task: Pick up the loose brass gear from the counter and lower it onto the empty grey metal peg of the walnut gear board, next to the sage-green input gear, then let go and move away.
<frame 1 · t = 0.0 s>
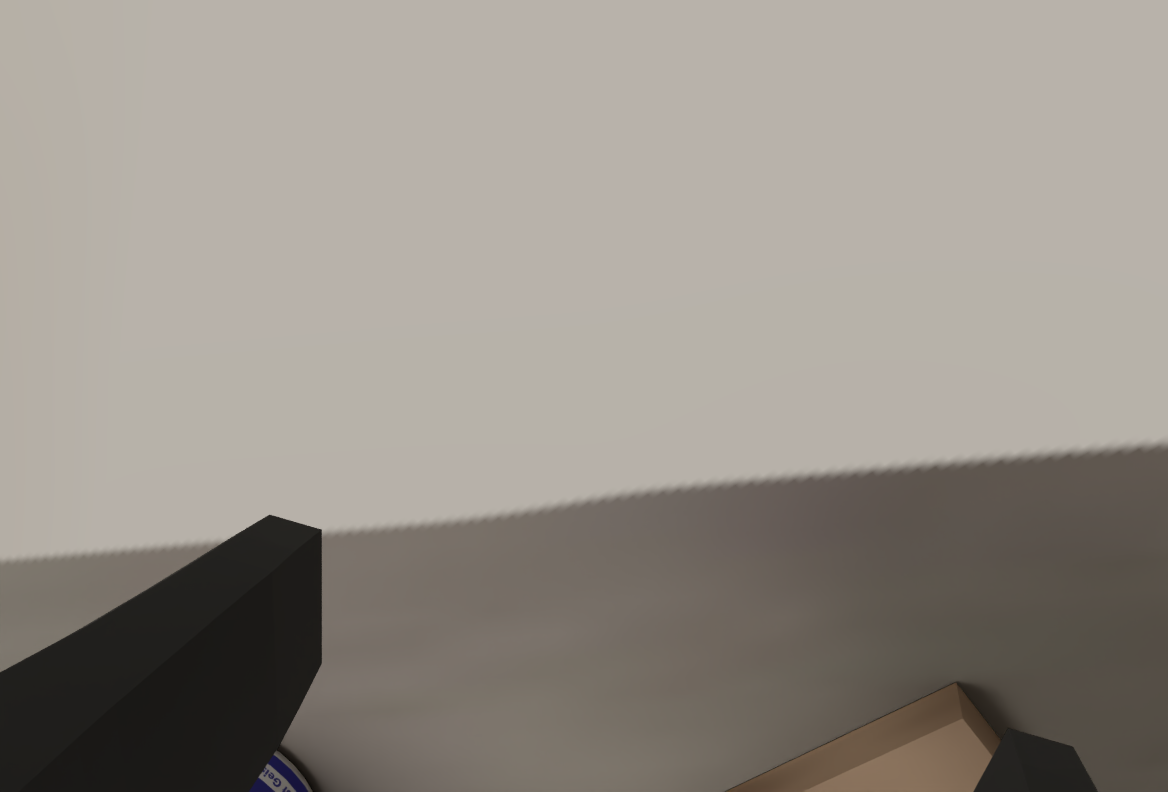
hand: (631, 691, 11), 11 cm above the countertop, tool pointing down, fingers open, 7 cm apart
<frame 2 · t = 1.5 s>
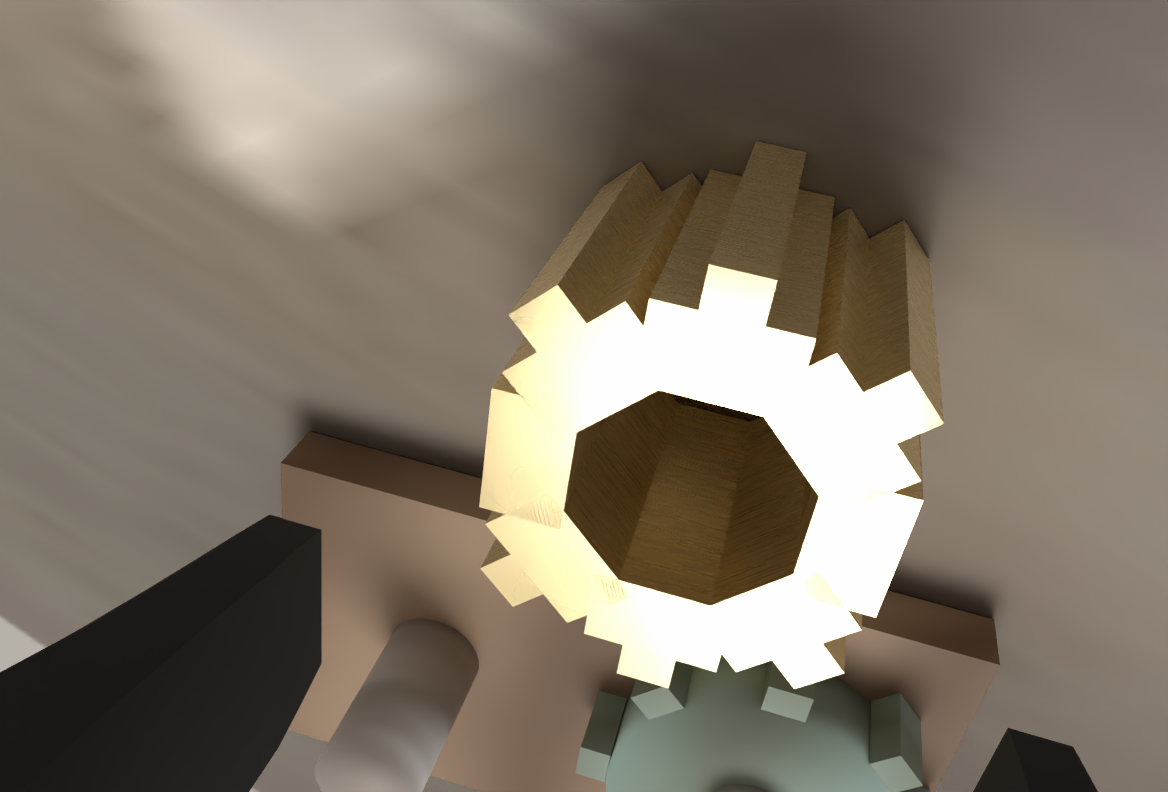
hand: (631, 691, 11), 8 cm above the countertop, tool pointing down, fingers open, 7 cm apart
brass gear: (733, 336, 18), on the countertop
gear board: (604, 661, 22), on the countertop
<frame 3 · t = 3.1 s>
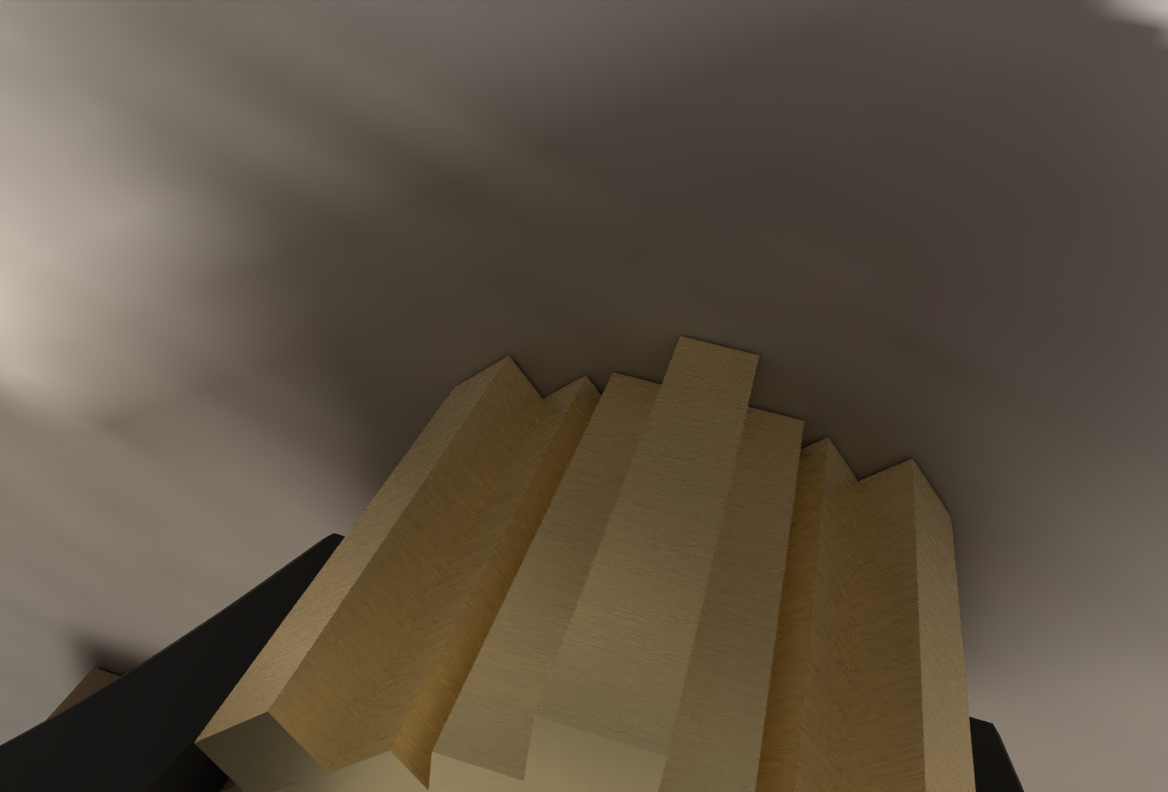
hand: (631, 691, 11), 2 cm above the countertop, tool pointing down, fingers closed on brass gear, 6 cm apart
brass gear: (658, 596, 12), on the countertop, touching gripper
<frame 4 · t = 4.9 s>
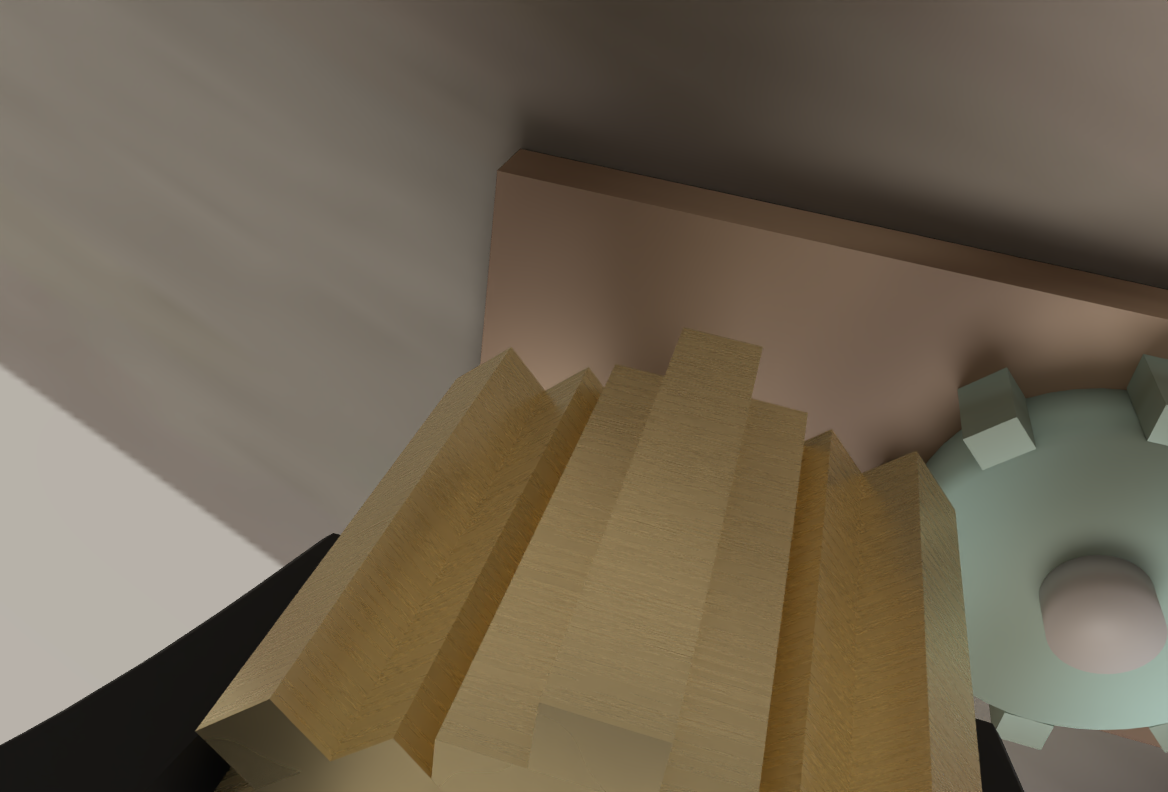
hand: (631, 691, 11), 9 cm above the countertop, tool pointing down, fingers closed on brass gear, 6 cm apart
brass gear: (660, 589, 12), point 7 cm above the countertop, touching gripper
gear board: (869, 444, 18), on the countertop
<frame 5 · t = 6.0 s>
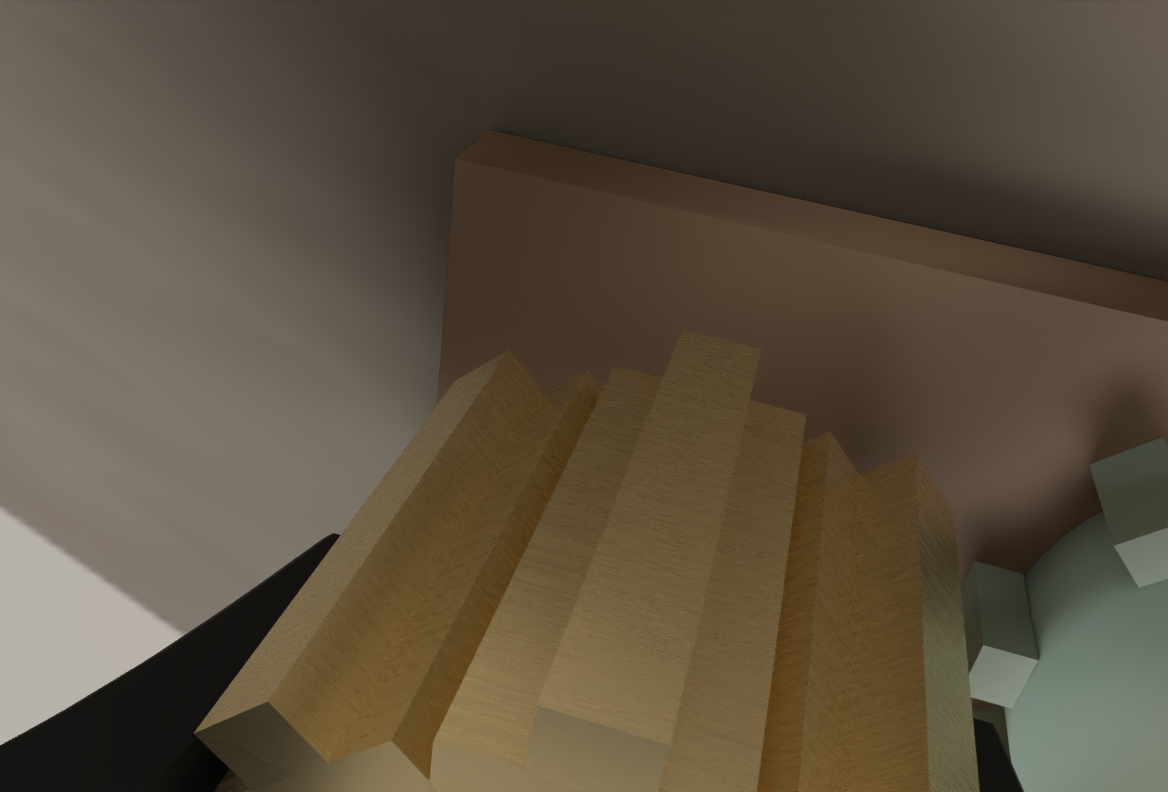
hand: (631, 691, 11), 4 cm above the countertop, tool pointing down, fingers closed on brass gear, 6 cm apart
brass gear: (659, 591, 12), point 3 cm above the countertop, touching gripper
gear board: (950, 525, 14), on the countertop
when the fingers open (4 cm above the countertop, at t = 7.0 s): brass gear drops 1 cm, resting on gear board.
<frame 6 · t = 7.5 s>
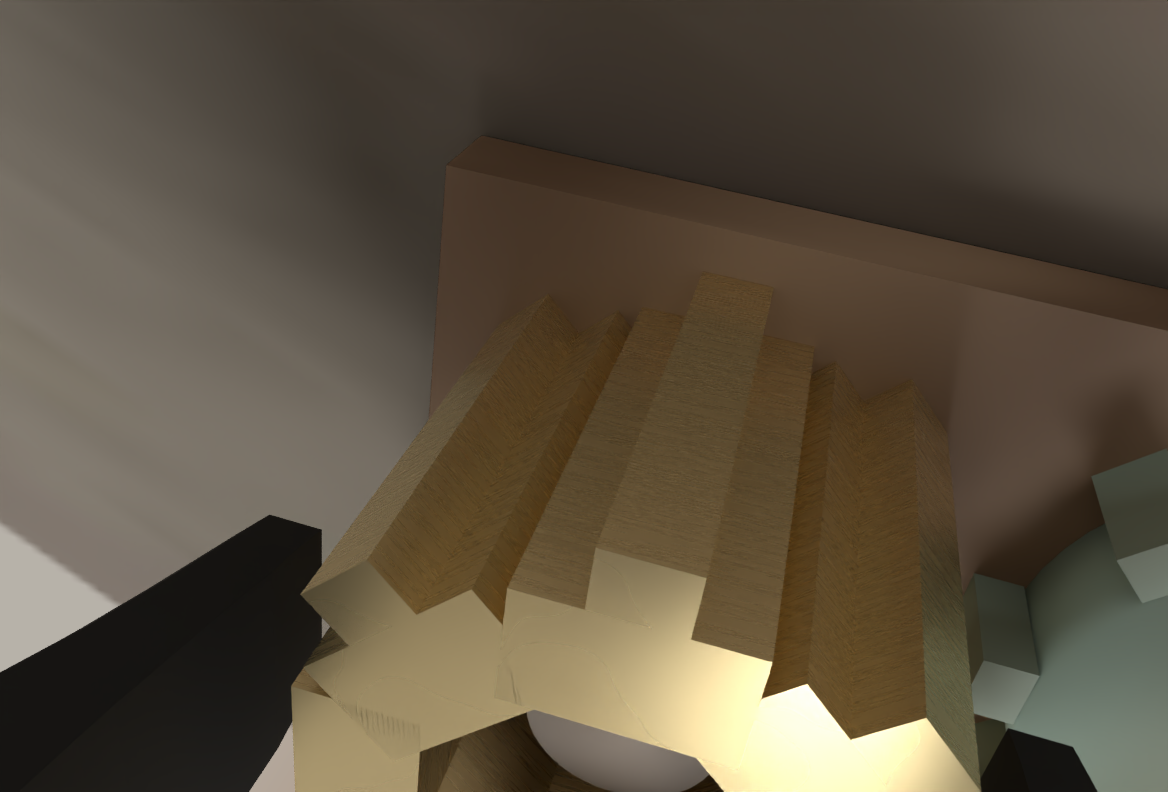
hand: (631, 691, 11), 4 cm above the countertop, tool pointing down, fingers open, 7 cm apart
brass gear: (683, 516, 13), point 1 cm above the countertop, touching gear board
gear board: (949, 536, 14), on the countertop
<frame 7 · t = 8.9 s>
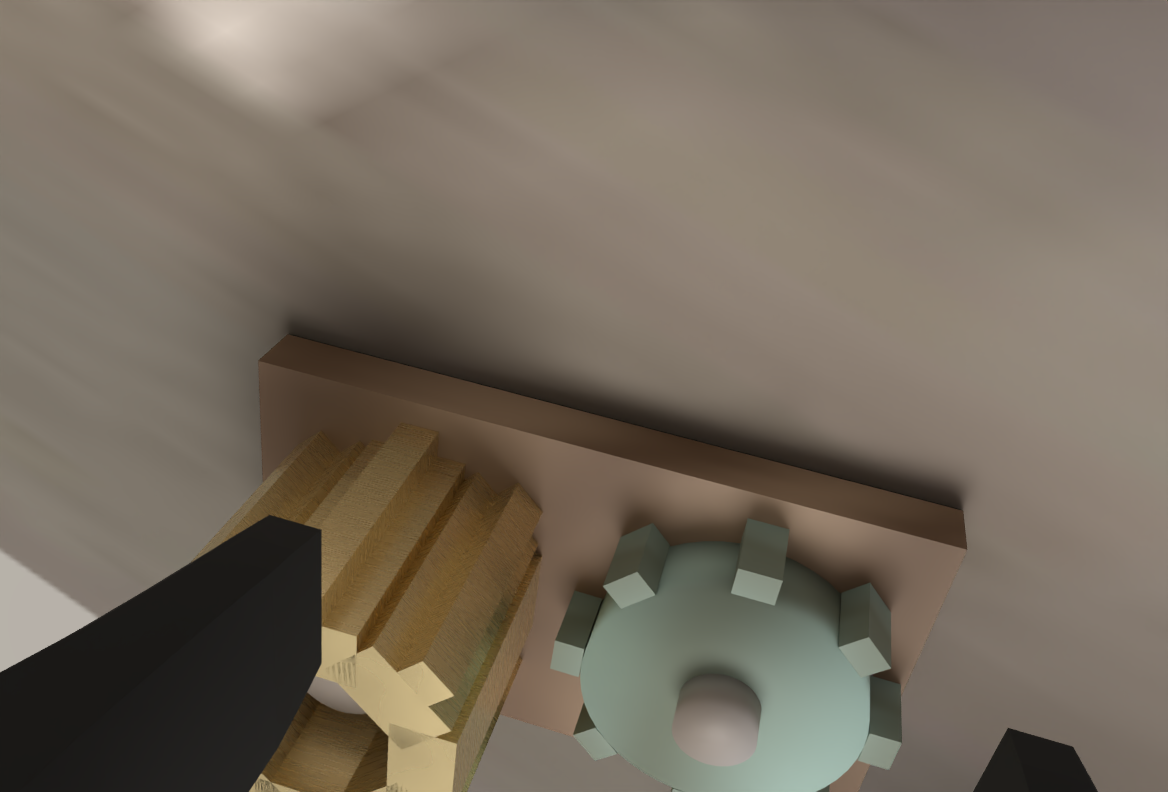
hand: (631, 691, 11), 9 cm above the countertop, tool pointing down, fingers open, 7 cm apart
brass gear: (413, 556, 22), point 1 cm above the countertop, touching gear board
gear board: (581, 567, 22), on the countertop
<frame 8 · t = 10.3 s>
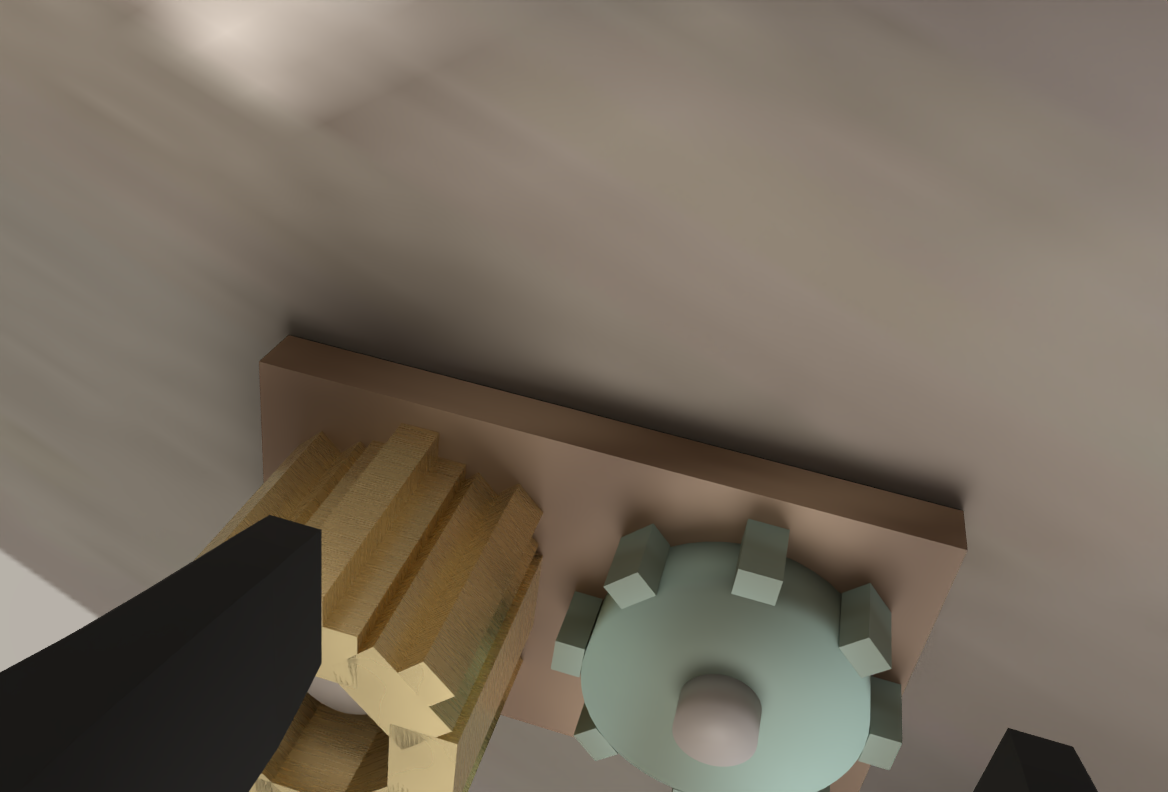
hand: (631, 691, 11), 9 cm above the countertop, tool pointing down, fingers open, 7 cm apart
brass gear: (414, 556, 22), point 1 cm above the countertop, touching gear board
gear board: (582, 567, 22), on the countertop
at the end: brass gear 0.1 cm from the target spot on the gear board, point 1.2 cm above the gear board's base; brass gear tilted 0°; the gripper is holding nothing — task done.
